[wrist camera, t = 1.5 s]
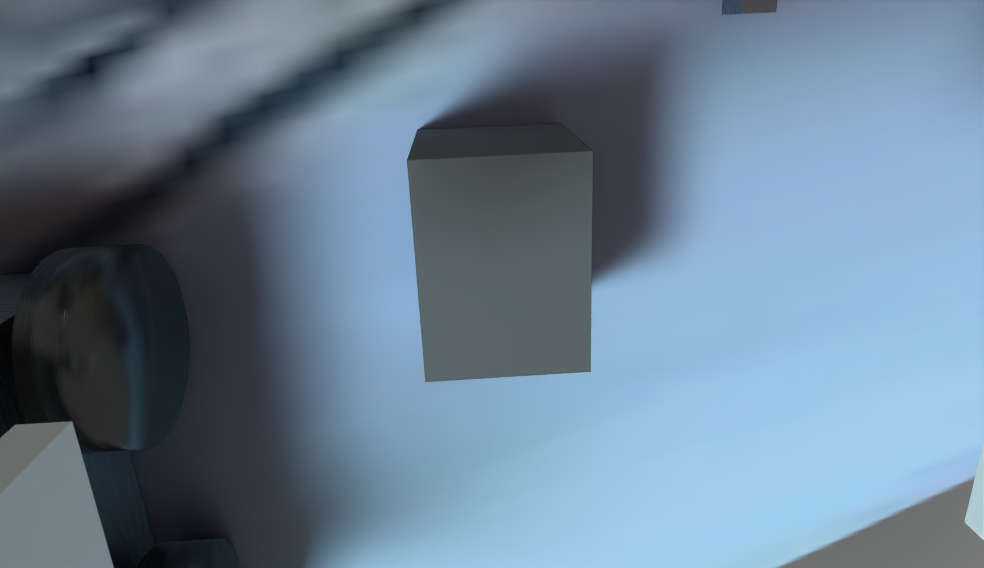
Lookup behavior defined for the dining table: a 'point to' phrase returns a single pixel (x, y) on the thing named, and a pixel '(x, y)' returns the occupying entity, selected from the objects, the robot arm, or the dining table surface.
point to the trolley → (103, 379)
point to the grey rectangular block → (502, 250)
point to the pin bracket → (748, 6)
